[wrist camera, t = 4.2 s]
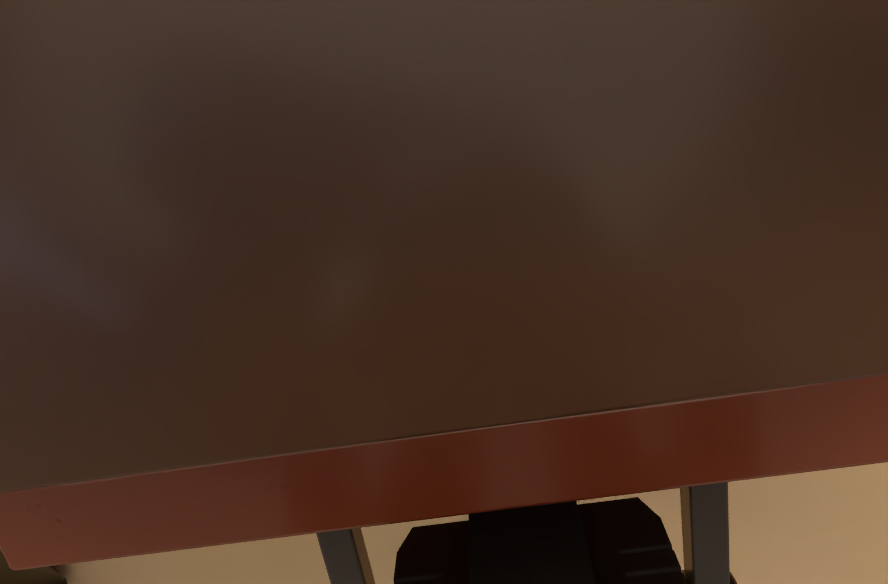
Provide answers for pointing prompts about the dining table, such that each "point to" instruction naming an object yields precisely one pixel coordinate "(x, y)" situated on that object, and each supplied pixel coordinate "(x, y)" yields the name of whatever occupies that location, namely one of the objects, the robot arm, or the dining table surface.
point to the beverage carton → (29, 575)
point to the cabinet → (423, 217)
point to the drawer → (463, 479)
